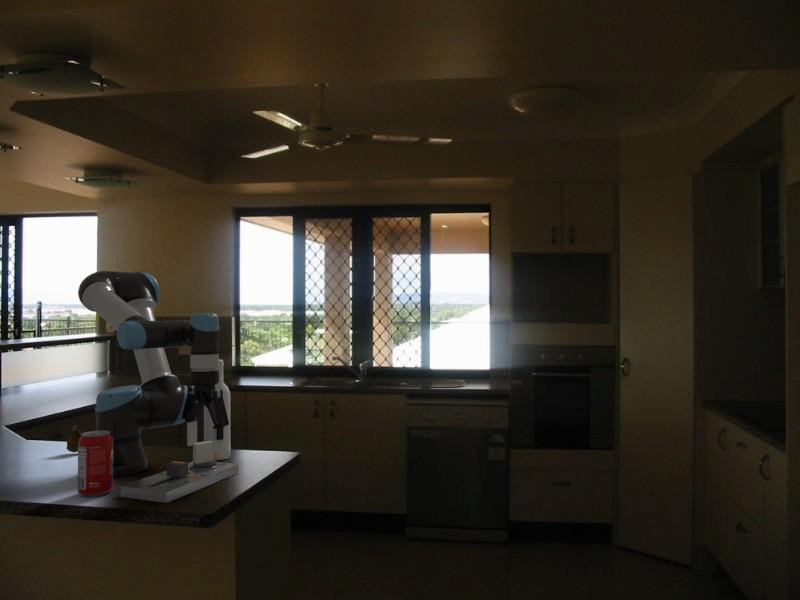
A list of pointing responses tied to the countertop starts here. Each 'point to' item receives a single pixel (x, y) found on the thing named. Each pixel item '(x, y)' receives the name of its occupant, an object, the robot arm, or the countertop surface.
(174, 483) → the console
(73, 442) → the amber spray bottle
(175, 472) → the fader
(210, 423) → the bottle
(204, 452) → the dial
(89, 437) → the soda can
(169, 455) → the countertop surface
